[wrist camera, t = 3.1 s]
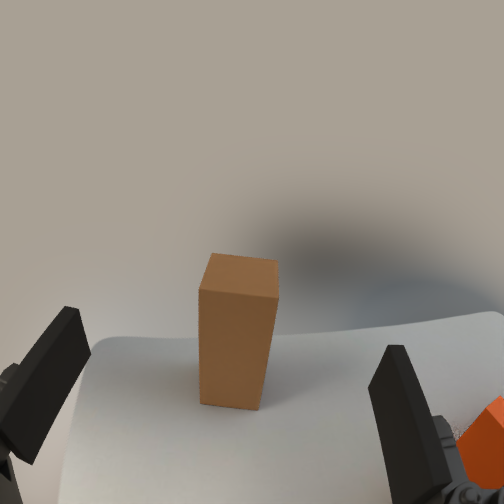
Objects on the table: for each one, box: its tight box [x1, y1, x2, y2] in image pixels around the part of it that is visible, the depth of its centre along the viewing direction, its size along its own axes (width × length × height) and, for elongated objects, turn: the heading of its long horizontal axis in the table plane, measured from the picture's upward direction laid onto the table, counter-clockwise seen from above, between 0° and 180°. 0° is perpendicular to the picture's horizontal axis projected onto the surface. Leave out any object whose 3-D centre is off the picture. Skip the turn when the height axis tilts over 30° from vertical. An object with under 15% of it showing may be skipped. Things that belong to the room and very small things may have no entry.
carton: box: [199, 253, 279, 410], centre depth 25 cm, size 5×5×12 cm
